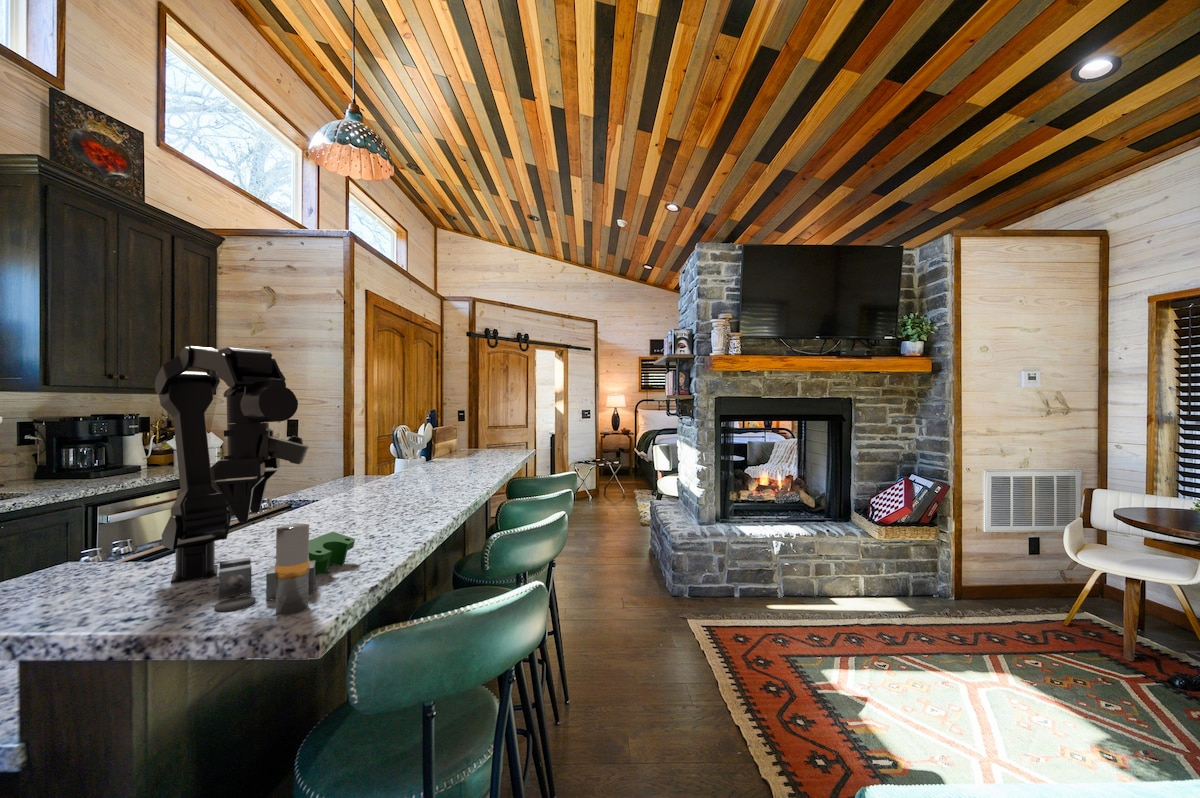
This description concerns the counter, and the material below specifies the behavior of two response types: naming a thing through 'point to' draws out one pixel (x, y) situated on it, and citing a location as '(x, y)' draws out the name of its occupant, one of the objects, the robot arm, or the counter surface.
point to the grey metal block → (234, 577)
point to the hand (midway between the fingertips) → (249, 516)
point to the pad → (234, 603)
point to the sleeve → (292, 568)
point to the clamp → (329, 550)
